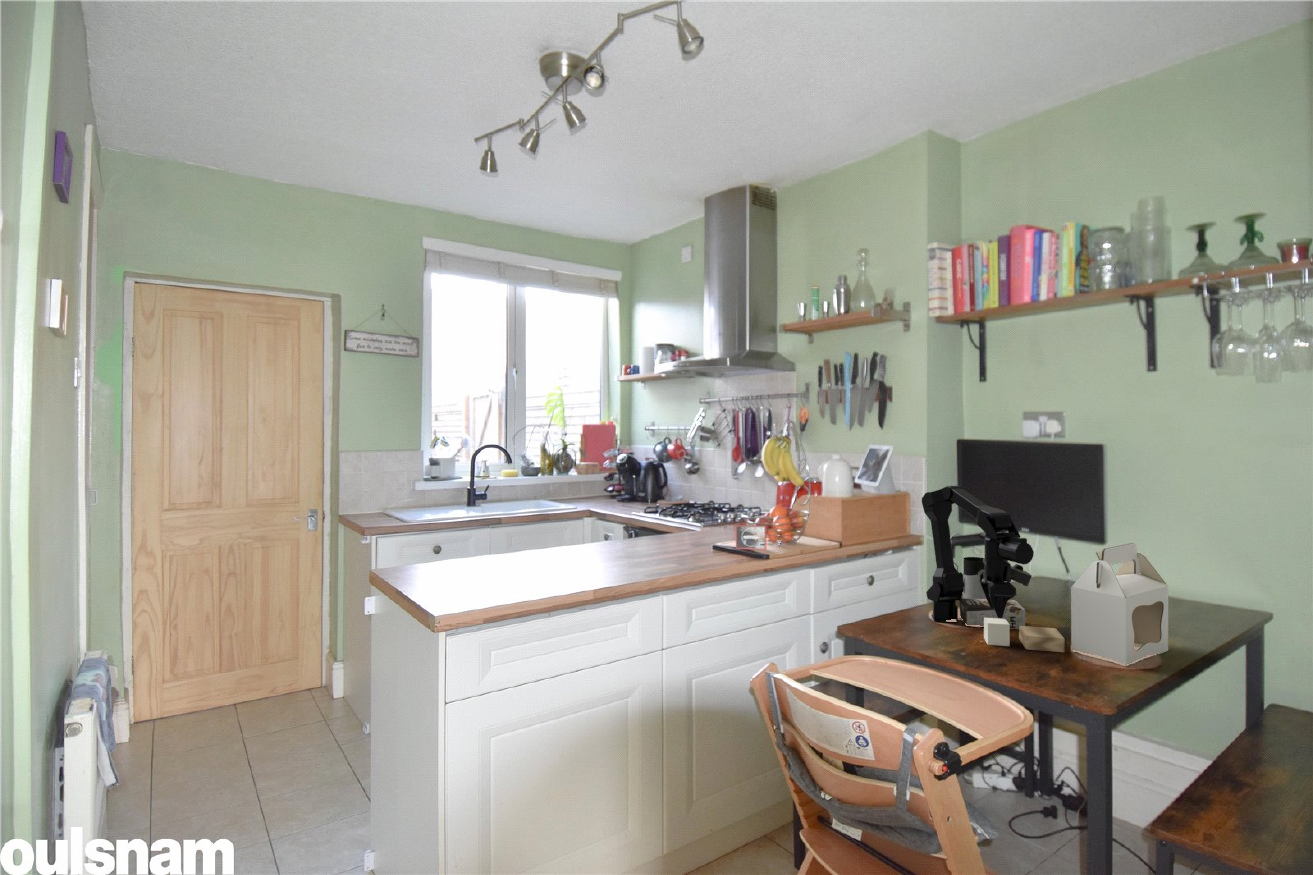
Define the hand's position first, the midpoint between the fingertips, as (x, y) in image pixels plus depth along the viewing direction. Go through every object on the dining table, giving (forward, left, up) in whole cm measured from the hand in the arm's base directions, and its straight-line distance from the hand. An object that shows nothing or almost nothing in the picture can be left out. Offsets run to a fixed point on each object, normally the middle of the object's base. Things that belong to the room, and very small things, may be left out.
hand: (996, 613), depth 185 cm
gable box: (+29, -1, -8) cm, 31 cm away
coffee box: (+10, +18, -5) cm, 21 cm away
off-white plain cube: (0, 0, -8) cm, 8 cm away
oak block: (+11, 0, -8) cm, 14 cm away
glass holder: (-1, +41, -8) cm, 42 cm away
